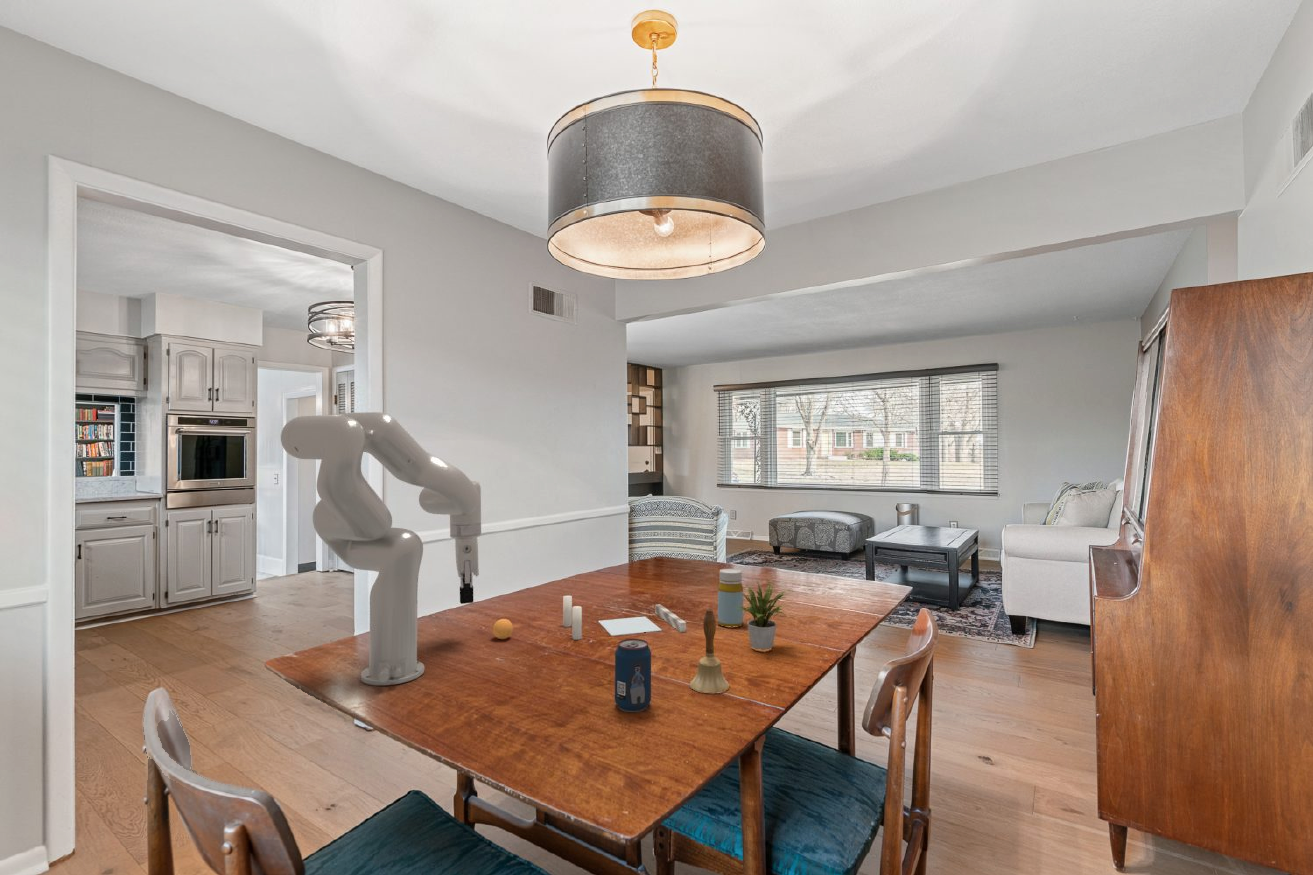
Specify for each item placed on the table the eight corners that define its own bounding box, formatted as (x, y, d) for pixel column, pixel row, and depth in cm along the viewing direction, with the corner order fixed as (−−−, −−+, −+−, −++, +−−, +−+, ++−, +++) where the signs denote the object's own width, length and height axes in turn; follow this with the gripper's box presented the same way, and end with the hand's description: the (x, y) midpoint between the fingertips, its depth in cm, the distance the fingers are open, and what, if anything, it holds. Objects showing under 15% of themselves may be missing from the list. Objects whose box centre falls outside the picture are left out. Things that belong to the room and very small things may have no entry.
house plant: (793, 662, 143) (793, 591, 143) (733, 658, 145) (733, 588, 146) (792, 643, 157) (792, 578, 157) (737, 639, 159) (737, 575, 160)
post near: (582, 639, 159) (582, 607, 159) (573, 640, 158) (573, 608, 158) (580, 636, 161) (580, 605, 161) (571, 637, 160) (571, 606, 160)
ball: (513, 640, 158) (514, 620, 158) (493, 642, 156) (493, 622, 156) (511, 634, 162) (511, 615, 162) (491, 636, 161) (492, 617, 161)
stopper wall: (686, 631, 166) (686, 622, 166) (680, 632, 165) (680, 623, 165) (660, 612, 185) (660, 604, 185) (655, 613, 184) (655, 604, 184)
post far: (572, 626, 170) (572, 597, 170) (563, 627, 169) (564, 597, 169) (570, 623, 172) (570, 595, 172) (562, 624, 172) (562, 595, 172)
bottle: (742, 621, 176) (742, 568, 176) (743, 629, 169) (743, 573, 169) (717, 620, 176) (718, 568, 176) (717, 628, 169) (718, 573, 169)
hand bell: (731, 694, 124) (731, 615, 124) (690, 694, 124) (690, 614, 125) (727, 679, 133) (728, 604, 133) (688, 678, 133) (689, 603, 133)
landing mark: (661, 630, 167) (661, 630, 167) (611, 636, 162) (611, 635, 162) (644, 617, 180) (644, 616, 180) (598, 621, 175) (598, 620, 175)
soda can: (631, 695, 124) (631, 635, 124) (658, 705, 119) (658, 642, 119) (607, 706, 118) (607, 643, 118) (634, 717, 114) (634, 651, 114)
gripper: (483, 534, 151) (484, 608, 151) (479, 524, 165) (479, 593, 165) (451, 536, 148) (452, 612, 148) (449, 526, 162) (450, 596, 163)
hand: (466, 602), depth 157 cm, fingers closed
